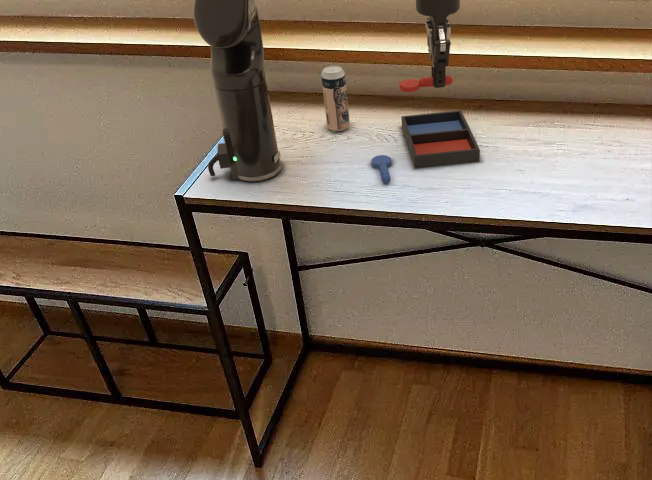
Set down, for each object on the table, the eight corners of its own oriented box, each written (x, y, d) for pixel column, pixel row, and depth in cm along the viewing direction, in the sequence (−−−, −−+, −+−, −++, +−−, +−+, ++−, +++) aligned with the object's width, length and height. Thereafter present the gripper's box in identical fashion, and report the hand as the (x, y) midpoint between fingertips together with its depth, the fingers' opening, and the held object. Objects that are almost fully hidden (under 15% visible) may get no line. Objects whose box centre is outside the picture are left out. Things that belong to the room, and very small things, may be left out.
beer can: (345, 133, 146) (339, 75, 138) (323, 131, 147) (316, 73, 139) (353, 123, 149) (348, 65, 141) (332, 121, 151) (326, 63, 142)
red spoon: (451, 80, 131) (451, 71, 130) (454, 88, 129) (454, 79, 127) (398, 84, 131) (398, 76, 130) (400, 93, 128) (400, 84, 127)
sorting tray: (414, 168, 134) (414, 156, 133) (401, 127, 147) (401, 116, 145) (479, 161, 135) (480, 149, 134) (461, 121, 148) (461, 110, 146)
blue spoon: (396, 183, 131) (396, 175, 130) (376, 185, 131) (376, 177, 129) (390, 158, 138) (389, 150, 137) (370, 160, 138) (370, 152, 136)
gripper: (466, -10, 113) (464, 98, 125) (453, -34, 123) (453, 68, 135) (420, -6, 113) (422, 101, 125) (410, -30, 122) (414, 71, 134)
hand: (438, 84), depth 130 cm, fingers closed on red spoon, 1 cm apart
